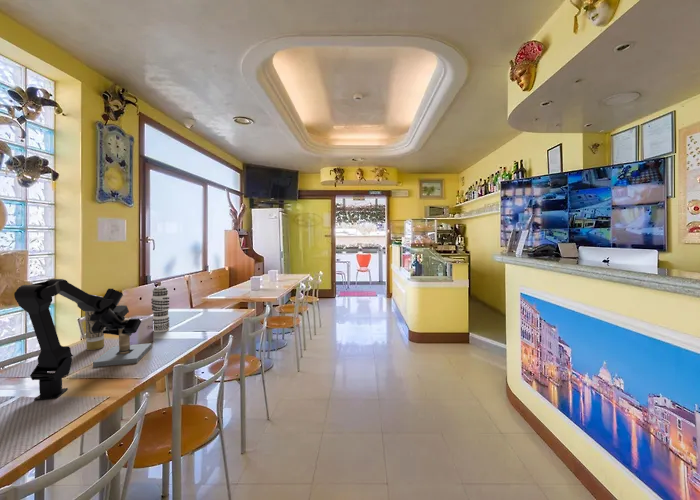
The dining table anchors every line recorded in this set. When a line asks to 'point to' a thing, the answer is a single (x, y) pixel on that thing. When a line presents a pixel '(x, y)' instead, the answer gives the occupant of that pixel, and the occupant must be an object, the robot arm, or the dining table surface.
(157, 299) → the decorative candle
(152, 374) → the dining table surface
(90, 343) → the grey patterned cylinder
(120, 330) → the beech peg
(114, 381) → the dining table surface
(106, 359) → the grey peg hole board
